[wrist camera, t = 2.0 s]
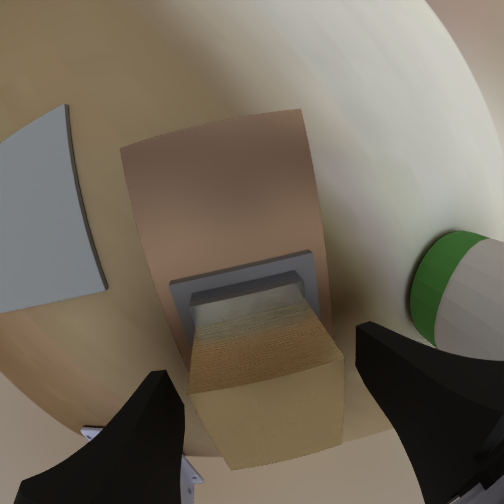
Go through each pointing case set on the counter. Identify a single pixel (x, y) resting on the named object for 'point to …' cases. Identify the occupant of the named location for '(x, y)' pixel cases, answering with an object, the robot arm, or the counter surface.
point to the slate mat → (43, 218)
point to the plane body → (228, 211)
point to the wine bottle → (461, 296)
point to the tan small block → (265, 372)
